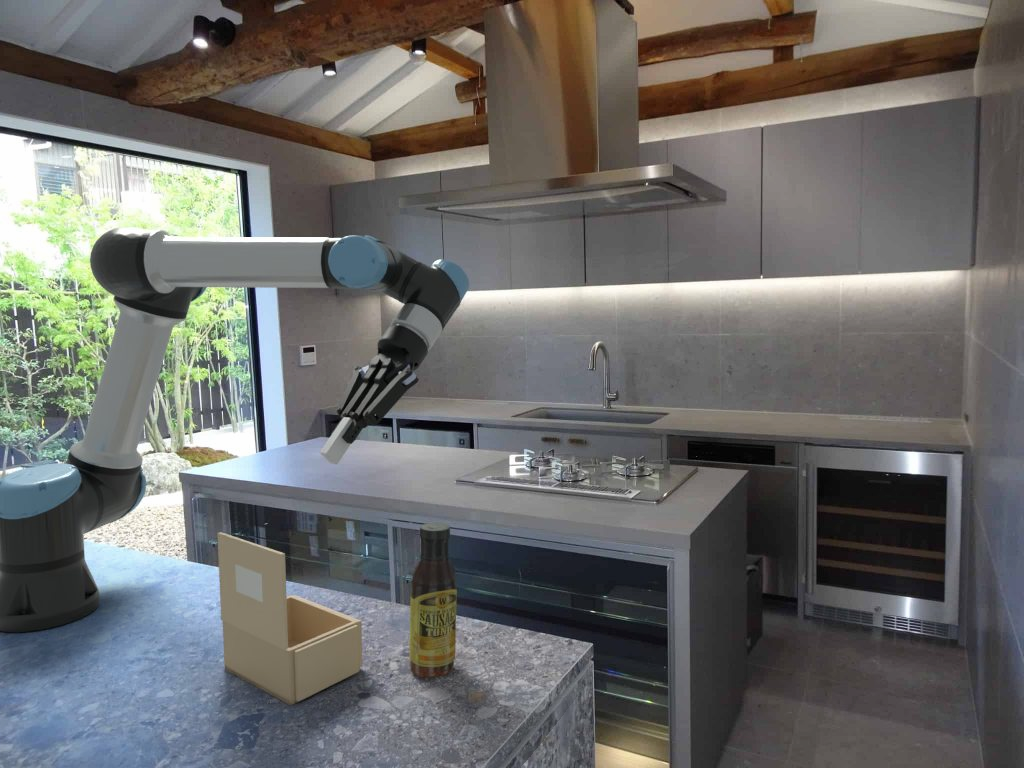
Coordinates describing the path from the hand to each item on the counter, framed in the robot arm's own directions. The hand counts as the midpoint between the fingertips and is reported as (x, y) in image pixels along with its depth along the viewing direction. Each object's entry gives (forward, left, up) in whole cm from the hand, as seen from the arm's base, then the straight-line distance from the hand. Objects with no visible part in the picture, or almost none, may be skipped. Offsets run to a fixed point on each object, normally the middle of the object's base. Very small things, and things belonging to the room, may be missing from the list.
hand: (328, 458), depth 104 cm
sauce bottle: (+18, +3, -28) cm, 33 cm away
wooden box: (+3, -9, -27) cm, 29 cm away
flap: (+3, -15, -20) cm, 25 cm away
